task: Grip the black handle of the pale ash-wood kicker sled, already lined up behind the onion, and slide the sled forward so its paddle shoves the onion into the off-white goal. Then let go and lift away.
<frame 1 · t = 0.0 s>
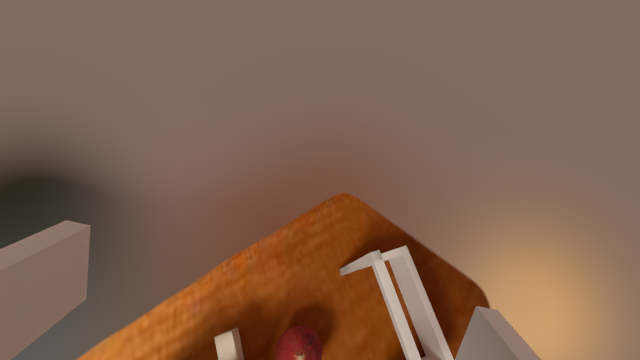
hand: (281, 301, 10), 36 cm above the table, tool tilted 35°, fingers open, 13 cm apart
goal: (385, 313, 44), on the table
onion: (297, 347, 42), on the table
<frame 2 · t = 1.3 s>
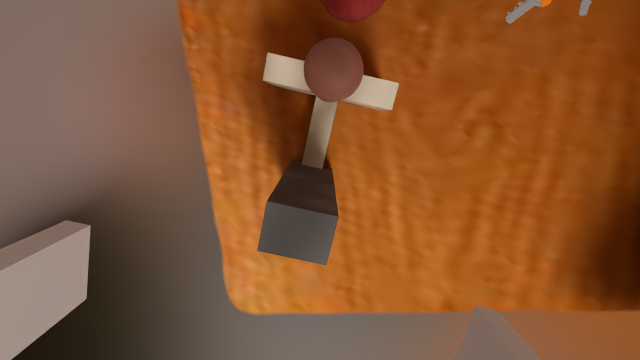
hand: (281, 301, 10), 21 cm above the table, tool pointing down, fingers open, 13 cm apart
kicker: (317, 141, 22), point 7 cm above the table, slide at 0.0 cm
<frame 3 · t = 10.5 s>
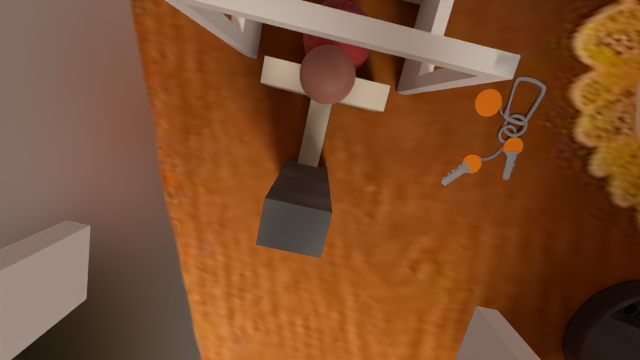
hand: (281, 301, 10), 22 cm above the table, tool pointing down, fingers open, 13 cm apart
kicker: (312, 141, 24), point 7 cm above the table, slide at 15.7 cm, touching onion
key chain: (491, 136, 31), on the table
goal: (338, 26, 28), on the table
onion: (335, 48, 29), on the table, touching kicker
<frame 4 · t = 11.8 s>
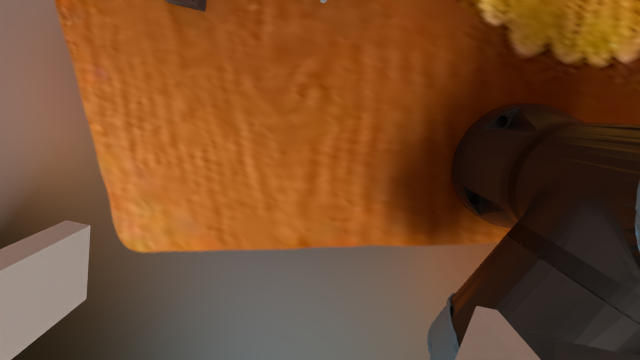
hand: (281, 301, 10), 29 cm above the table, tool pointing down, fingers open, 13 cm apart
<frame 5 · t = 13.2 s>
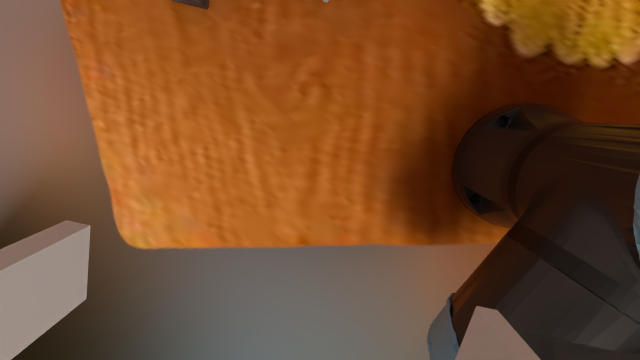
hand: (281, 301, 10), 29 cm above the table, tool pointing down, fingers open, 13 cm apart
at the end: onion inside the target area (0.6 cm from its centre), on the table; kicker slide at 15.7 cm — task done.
